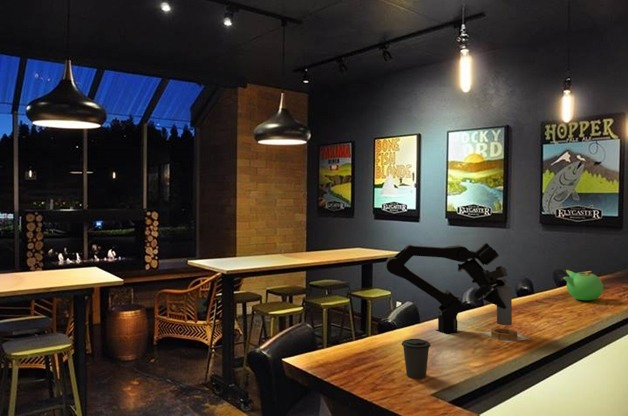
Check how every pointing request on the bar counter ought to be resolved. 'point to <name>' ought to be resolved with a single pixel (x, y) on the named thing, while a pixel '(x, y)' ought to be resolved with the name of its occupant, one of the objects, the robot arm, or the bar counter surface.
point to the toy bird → (584, 285)
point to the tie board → (520, 337)
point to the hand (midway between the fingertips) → (508, 307)
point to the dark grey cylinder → (506, 314)
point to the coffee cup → (416, 357)
